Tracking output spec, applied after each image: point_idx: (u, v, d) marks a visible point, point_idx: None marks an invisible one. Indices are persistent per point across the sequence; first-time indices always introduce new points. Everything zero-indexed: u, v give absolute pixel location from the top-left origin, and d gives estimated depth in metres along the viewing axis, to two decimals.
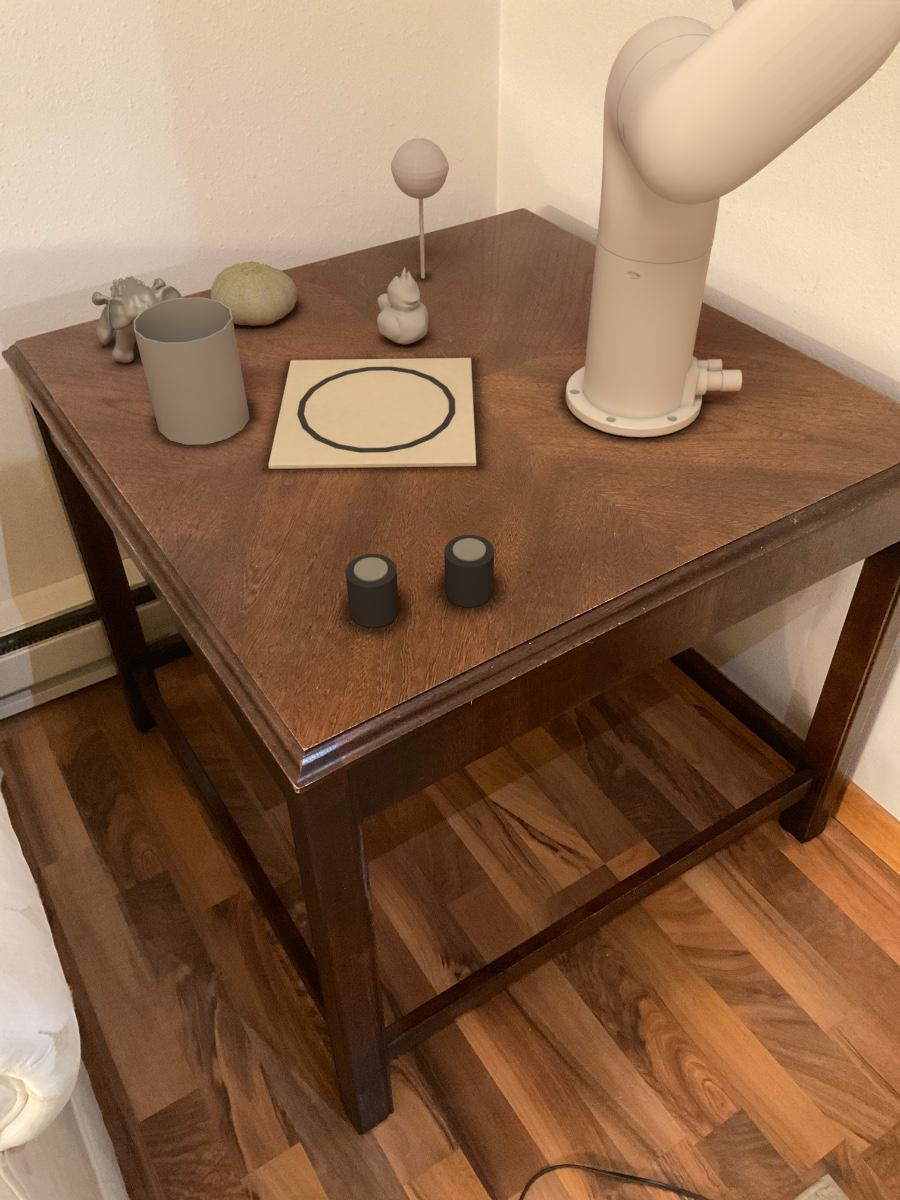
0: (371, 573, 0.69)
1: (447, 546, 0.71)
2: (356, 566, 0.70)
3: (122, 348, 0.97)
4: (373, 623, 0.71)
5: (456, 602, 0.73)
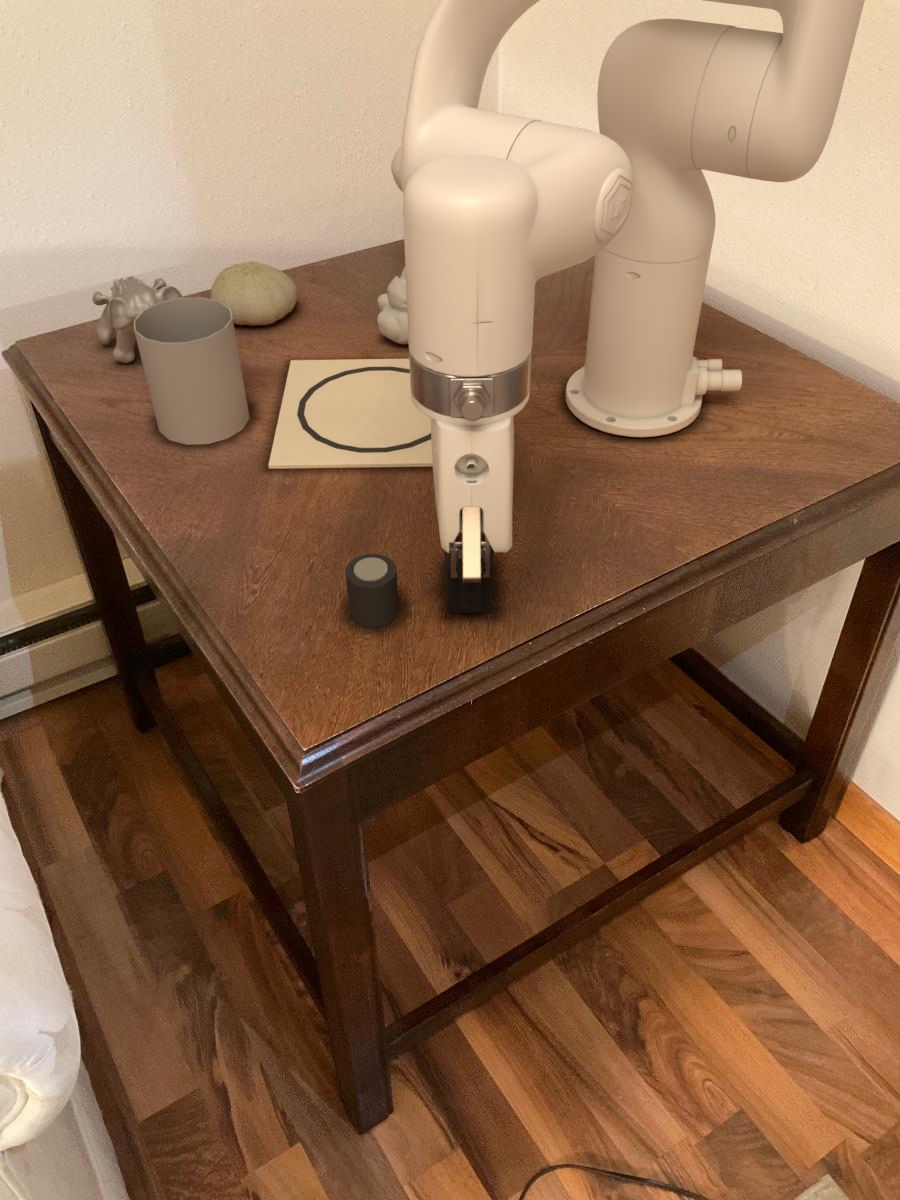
0: (371, 573, 0.69)
1: None
2: (356, 566, 0.70)
3: (123, 348, 0.97)
4: (373, 623, 0.71)
5: None
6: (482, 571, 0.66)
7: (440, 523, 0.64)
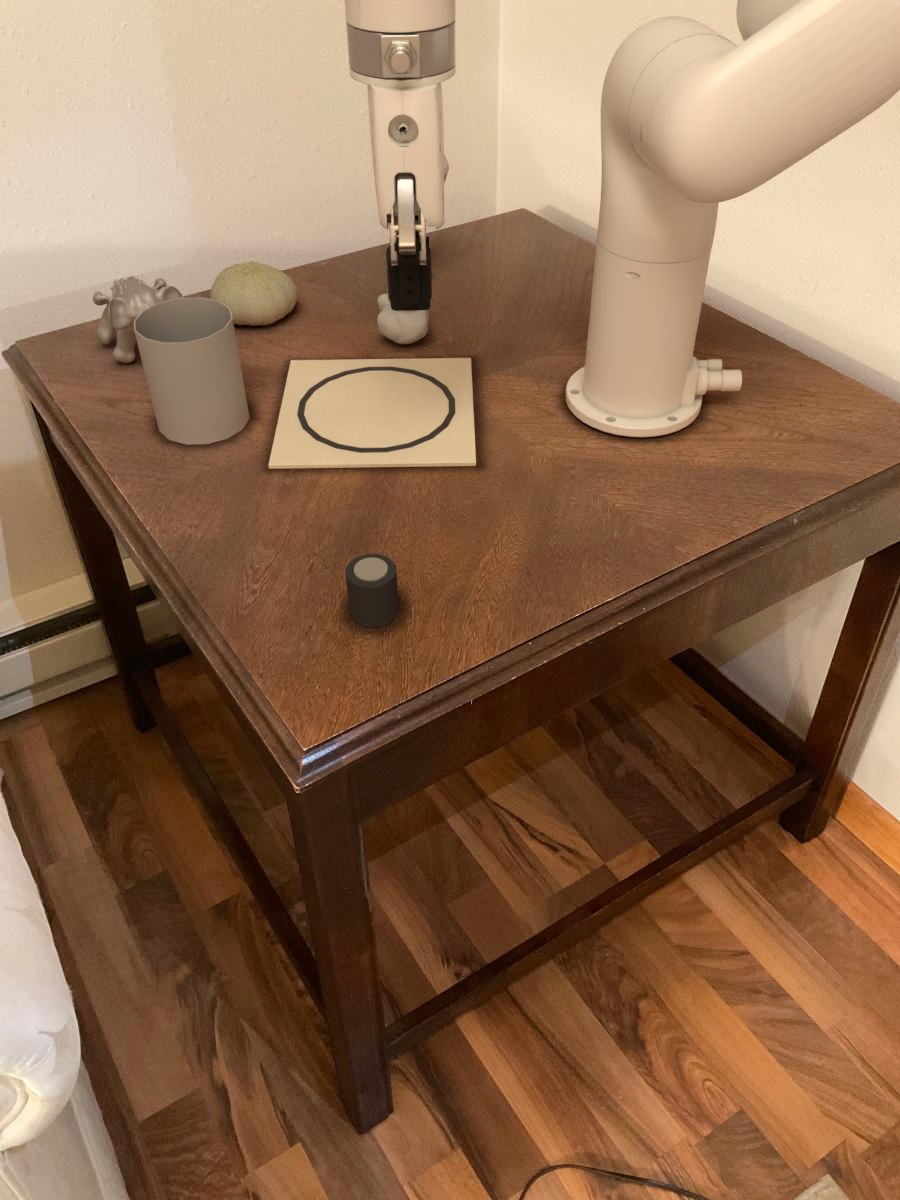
0: (371, 573, 0.69)
1: (388, 248, 0.79)
2: (356, 566, 0.70)
3: (123, 348, 0.97)
4: (373, 623, 0.71)
5: None
6: (417, 248, 0.74)
7: (378, 194, 0.71)
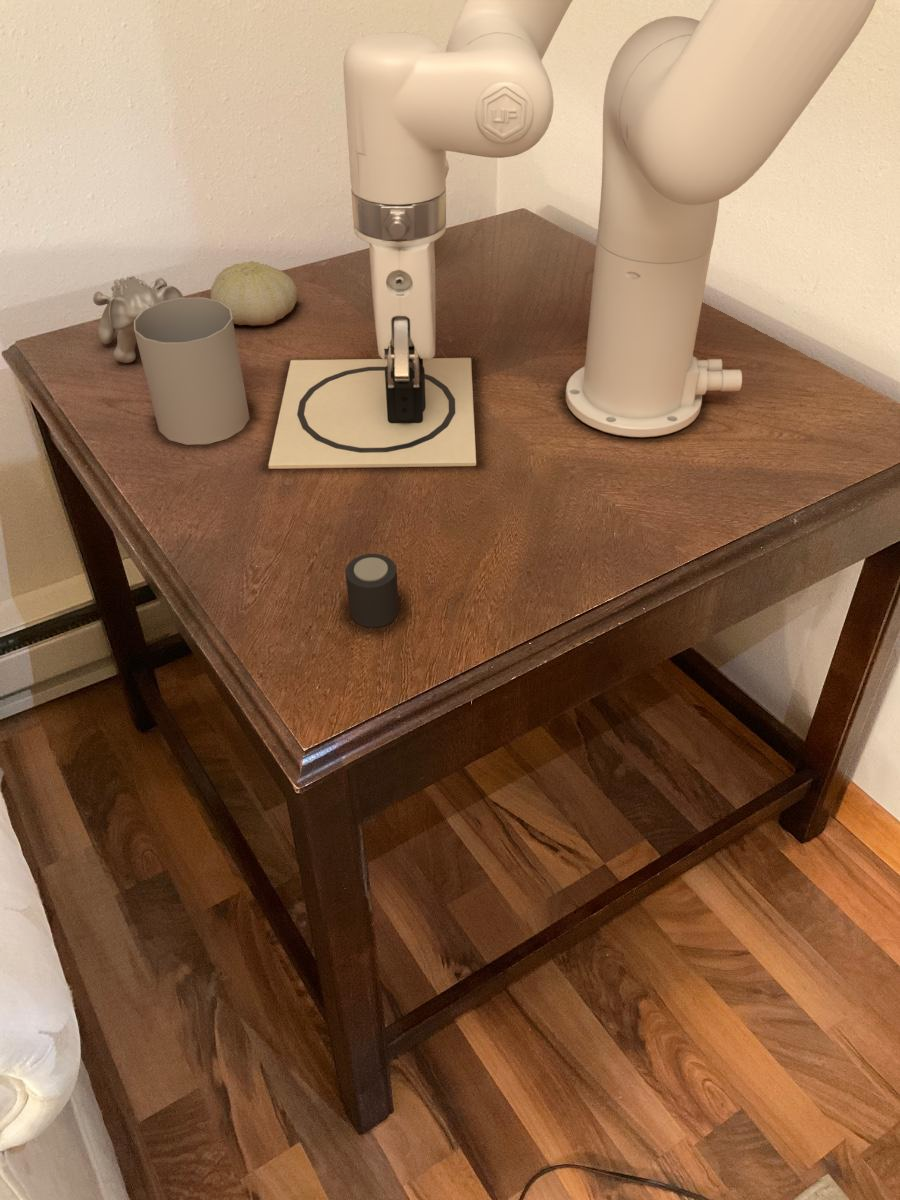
0: (371, 573, 0.69)
1: None
2: (356, 566, 0.70)
3: (123, 348, 0.97)
4: (373, 623, 0.71)
5: None
6: (411, 376, 0.84)
7: (377, 332, 0.81)
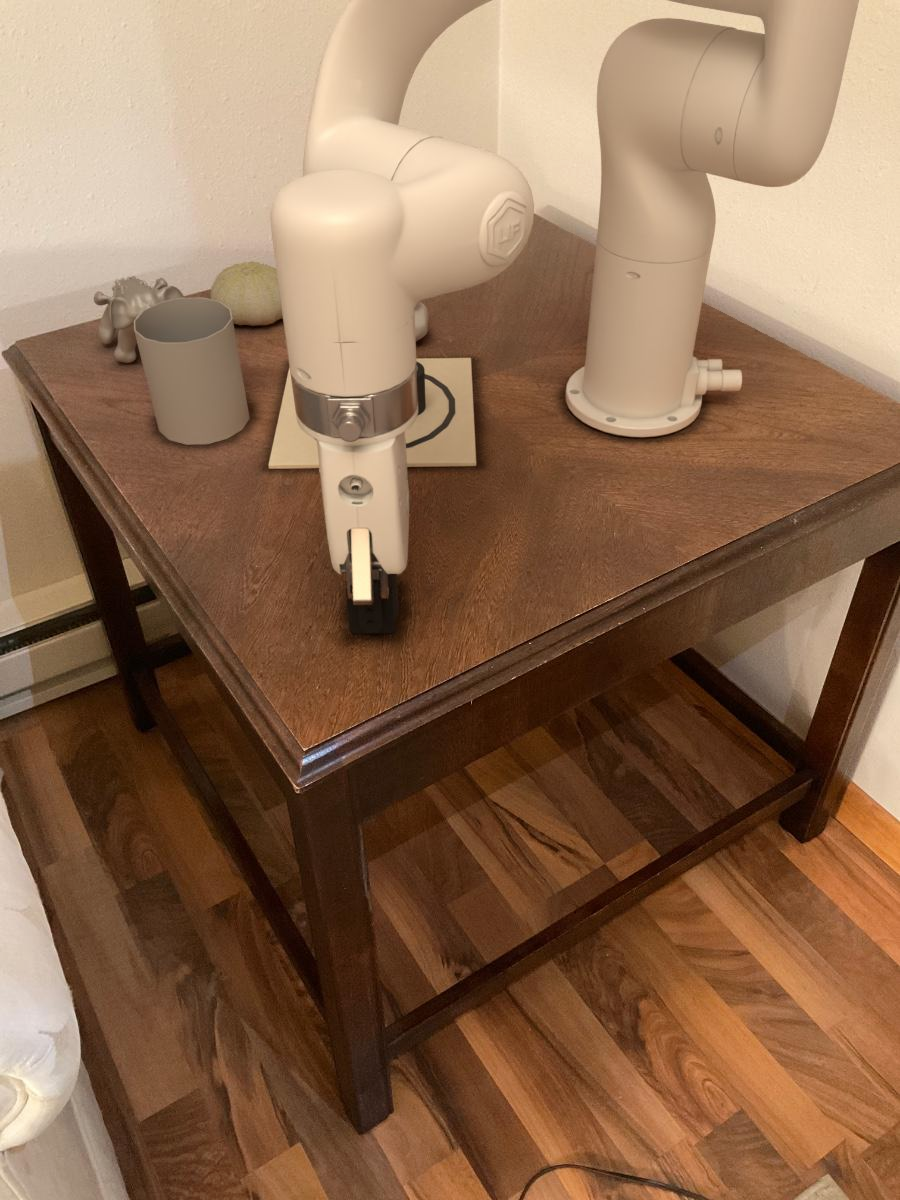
0: None
1: None
2: None
3: (124, 348, 0.97)
4: None
5: None
6: (376, 593, 0.65)
7: (329, 544, 0.62)
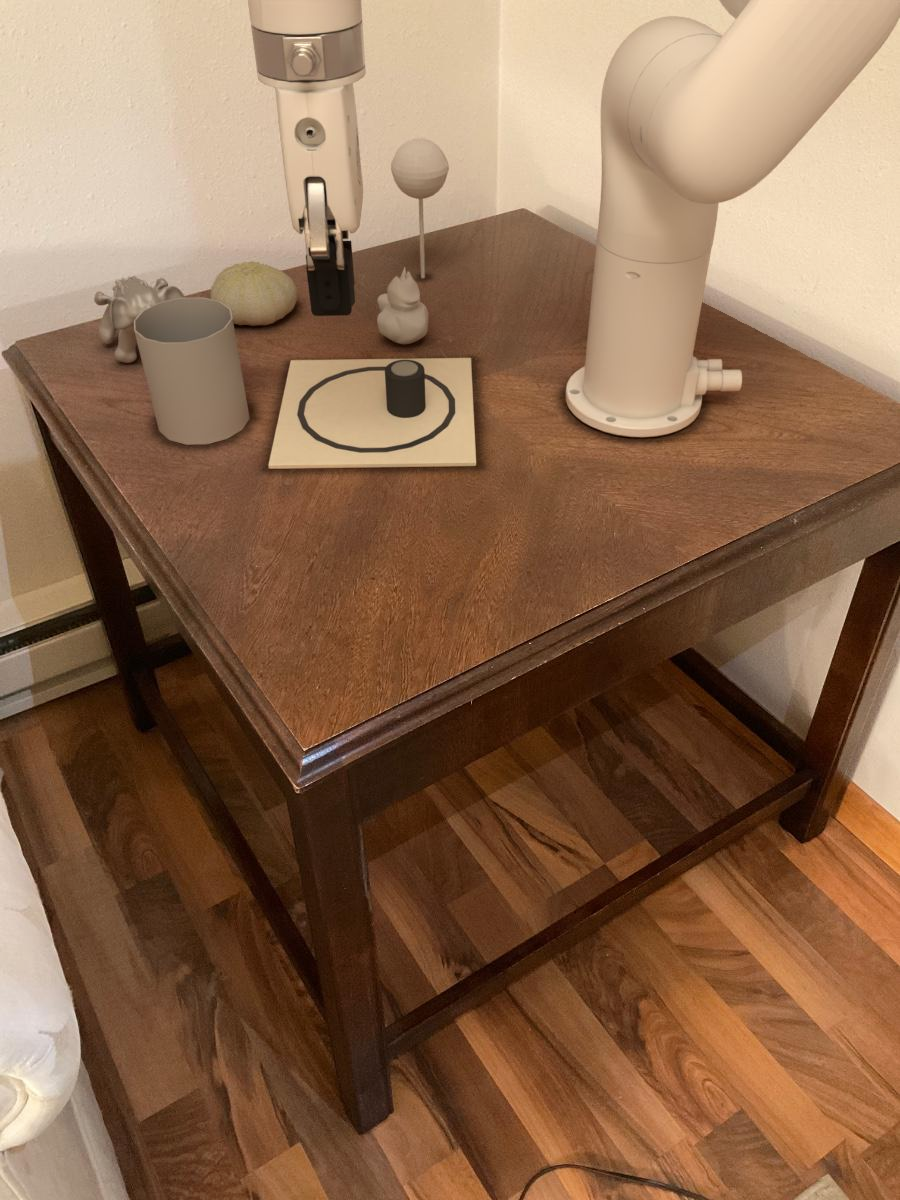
0: None
1: (387, 366, 0.89)
2: None
3: (125, 348, 0.97)
4: None
5: (395, 413, 0.90)
6: (332, 253, 0.73)
7: (288, 198, 0.70)
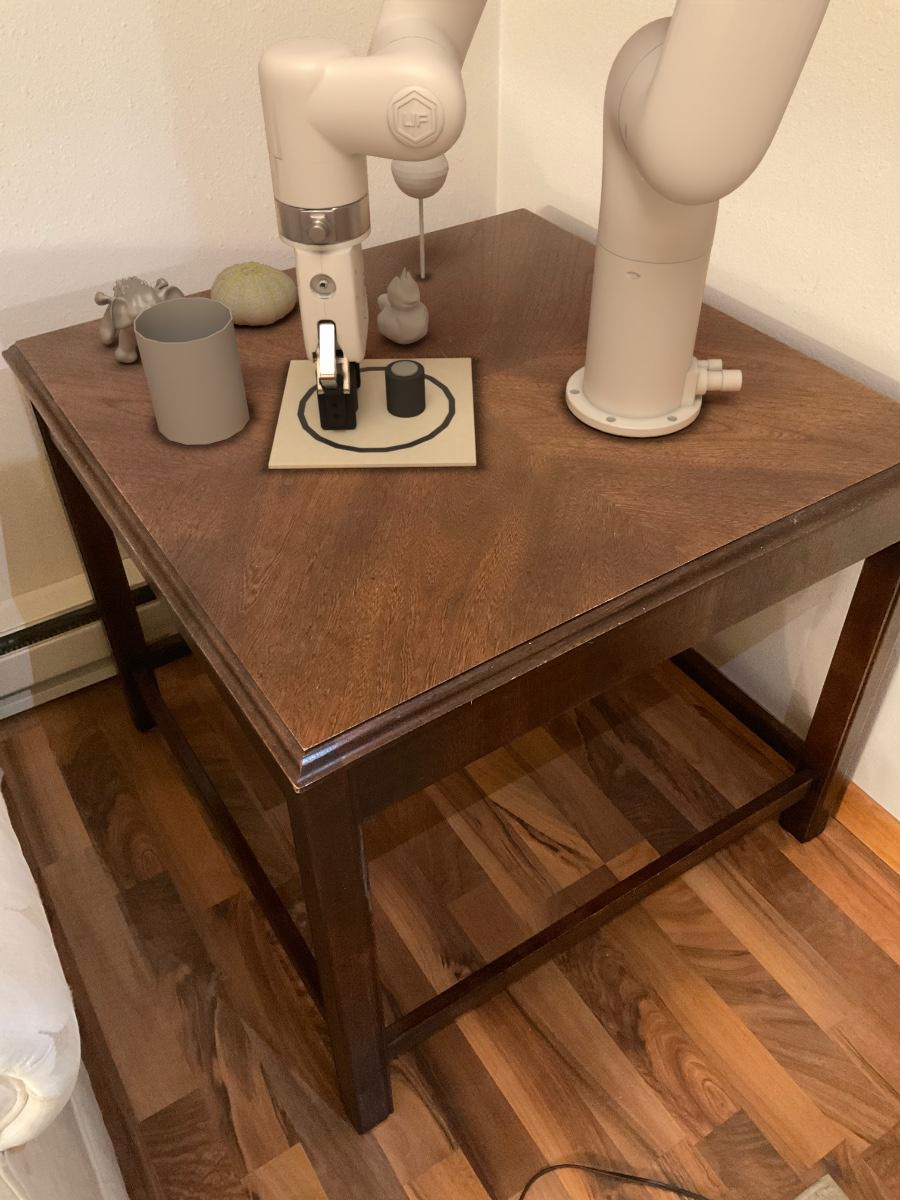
0: None
1: (387, 366, 0.89)
2: None
3: (125, 348, 0.97)
4: None
5: (395, 413, 0.90)
6: (339, 383, 0.83)
7: (304, 335, 0.82)
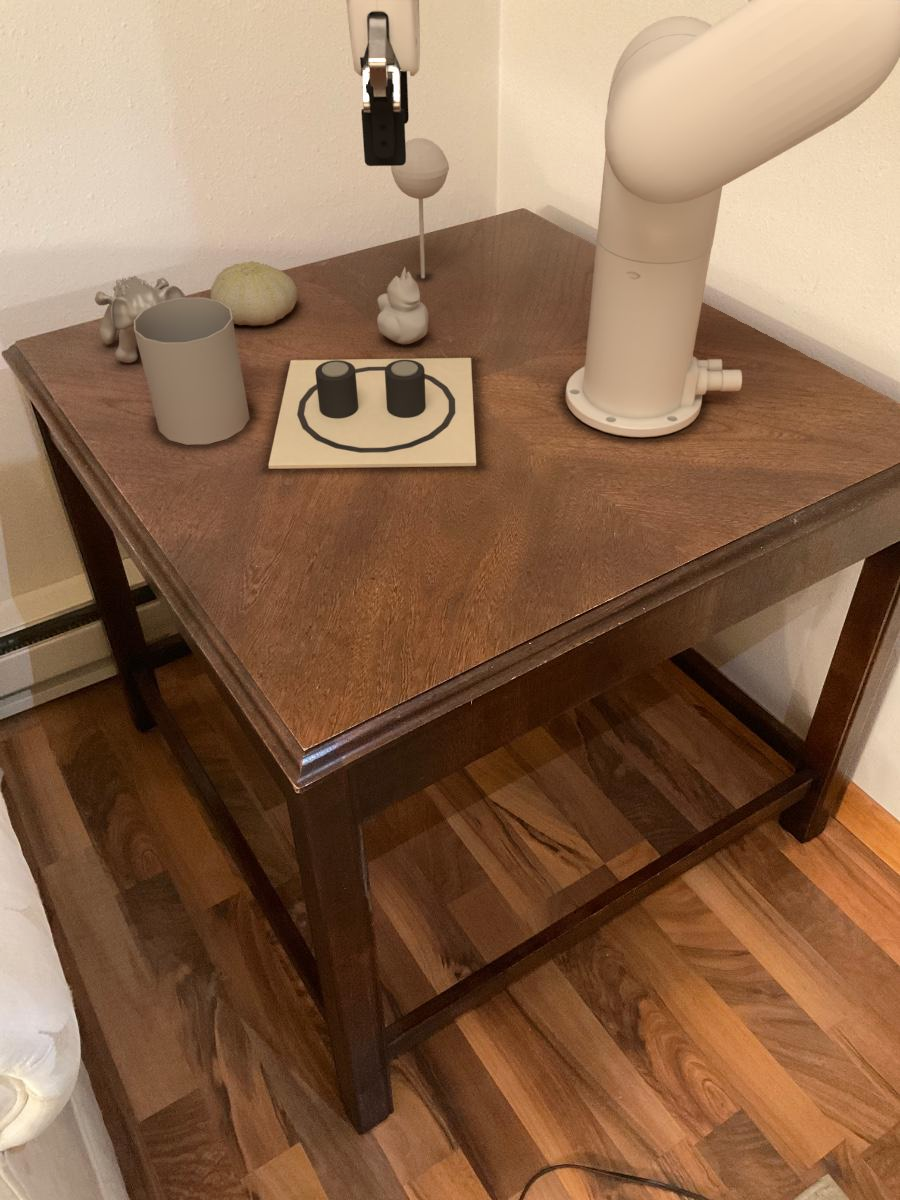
0: (335, 371, 0.89)
1: (387, 366, 0.89)
2: (324, 367, 0.89)
3: (125, 348, 0.97)
4: (337, 414, 0.90)
5: (395, 413, 0.90)
6: (390, 89, 0.71)
7: (351, 35, 0.71)
